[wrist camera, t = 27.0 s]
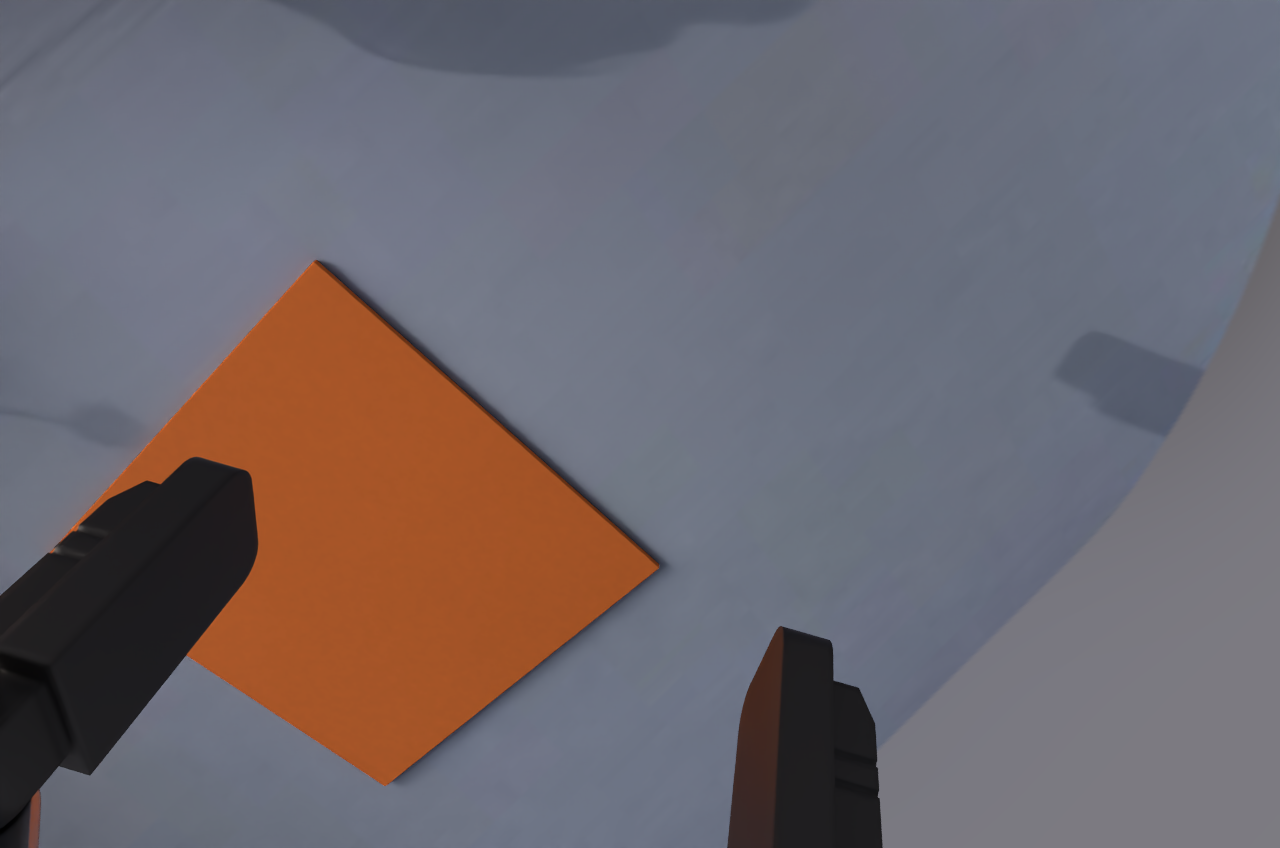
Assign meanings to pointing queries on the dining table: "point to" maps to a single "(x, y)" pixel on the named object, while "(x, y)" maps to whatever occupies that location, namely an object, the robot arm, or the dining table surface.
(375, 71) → the dining table surface
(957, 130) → the dining table surface
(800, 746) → the robot arm
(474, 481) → the towel
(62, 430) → the dining table surface
